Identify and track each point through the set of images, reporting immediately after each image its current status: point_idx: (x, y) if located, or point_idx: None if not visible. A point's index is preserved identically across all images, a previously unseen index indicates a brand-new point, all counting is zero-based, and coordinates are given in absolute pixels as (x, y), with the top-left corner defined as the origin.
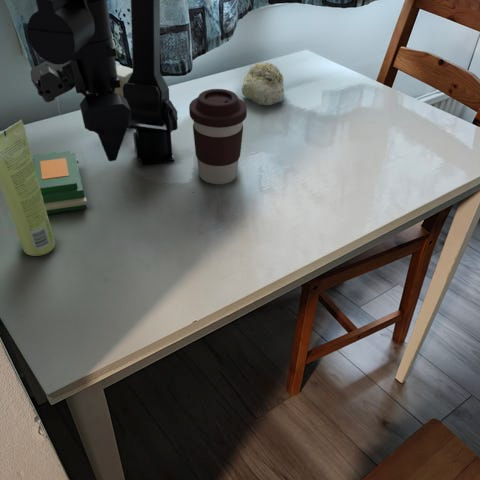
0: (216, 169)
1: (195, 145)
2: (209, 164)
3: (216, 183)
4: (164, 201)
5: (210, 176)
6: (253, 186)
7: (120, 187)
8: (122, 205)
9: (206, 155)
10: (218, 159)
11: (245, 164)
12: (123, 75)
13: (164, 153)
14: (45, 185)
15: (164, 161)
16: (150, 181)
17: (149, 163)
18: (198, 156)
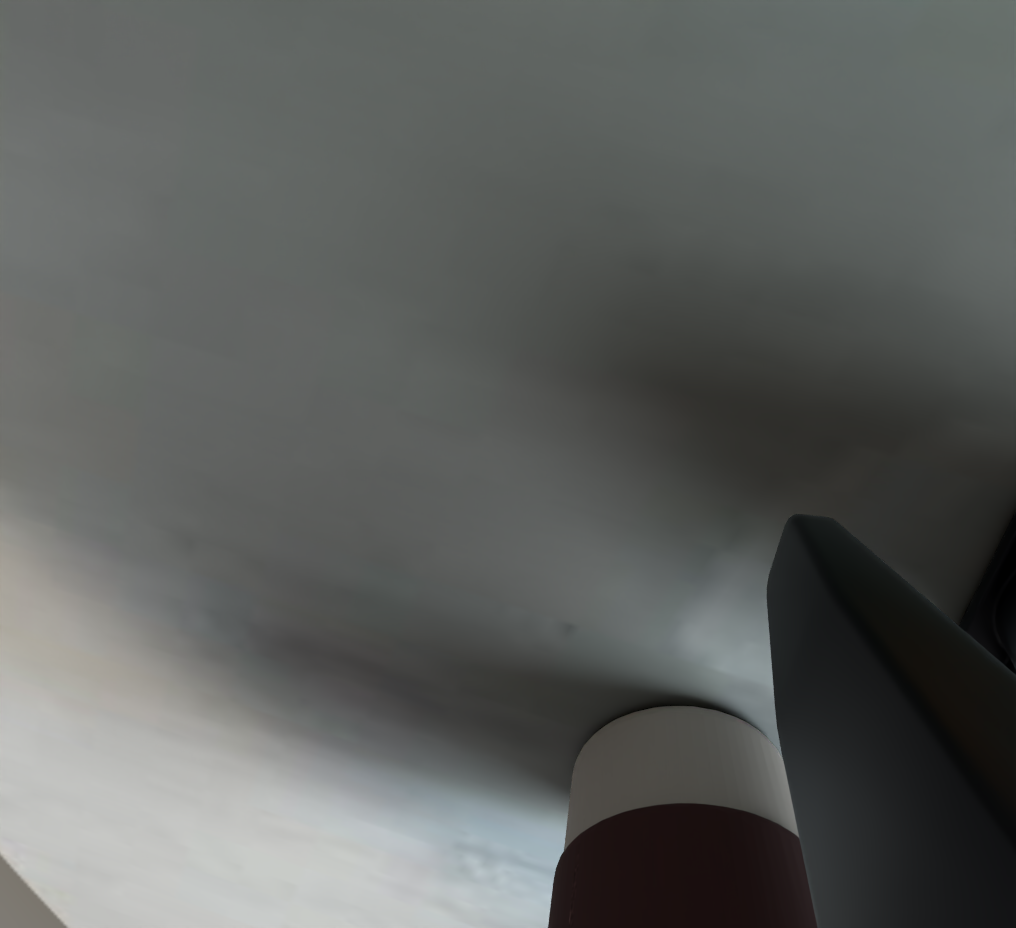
0: (577, 821)
1: (719, 882)
2: (593, 828)
3: (586, 743)
4: (543, 476)
5: (602, 759)
6: (510, 839)
7: (848, 269)
8: (606, 220)
9: (606, 873)
10: (557, 892)
11: None
12: None
13: (1010, 654)
14: None
15: (968, 613)
16: (808, 471)
17: (1008, 533)
18: (677, 826)
